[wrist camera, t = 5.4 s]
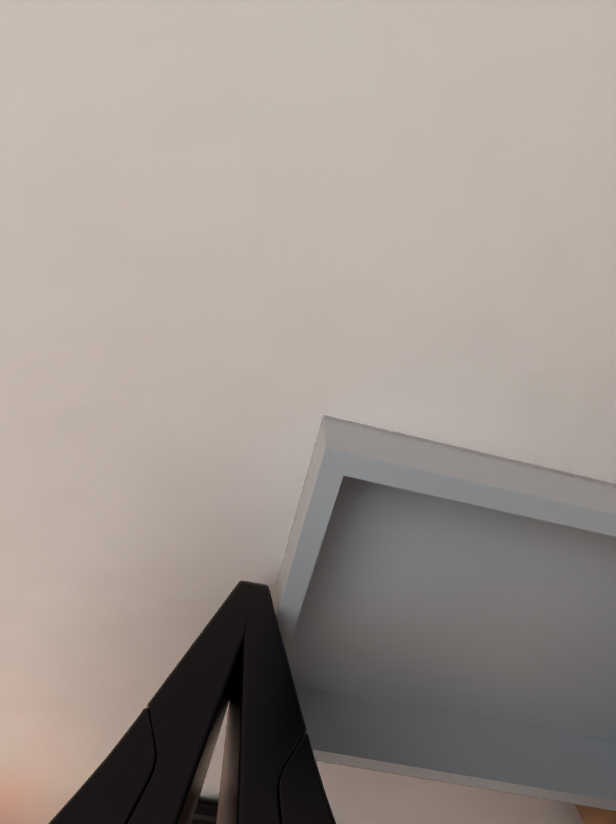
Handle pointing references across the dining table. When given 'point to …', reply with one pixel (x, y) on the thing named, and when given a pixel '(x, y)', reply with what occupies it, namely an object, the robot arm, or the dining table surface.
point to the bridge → (596, 815)
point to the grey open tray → (453, 616)
